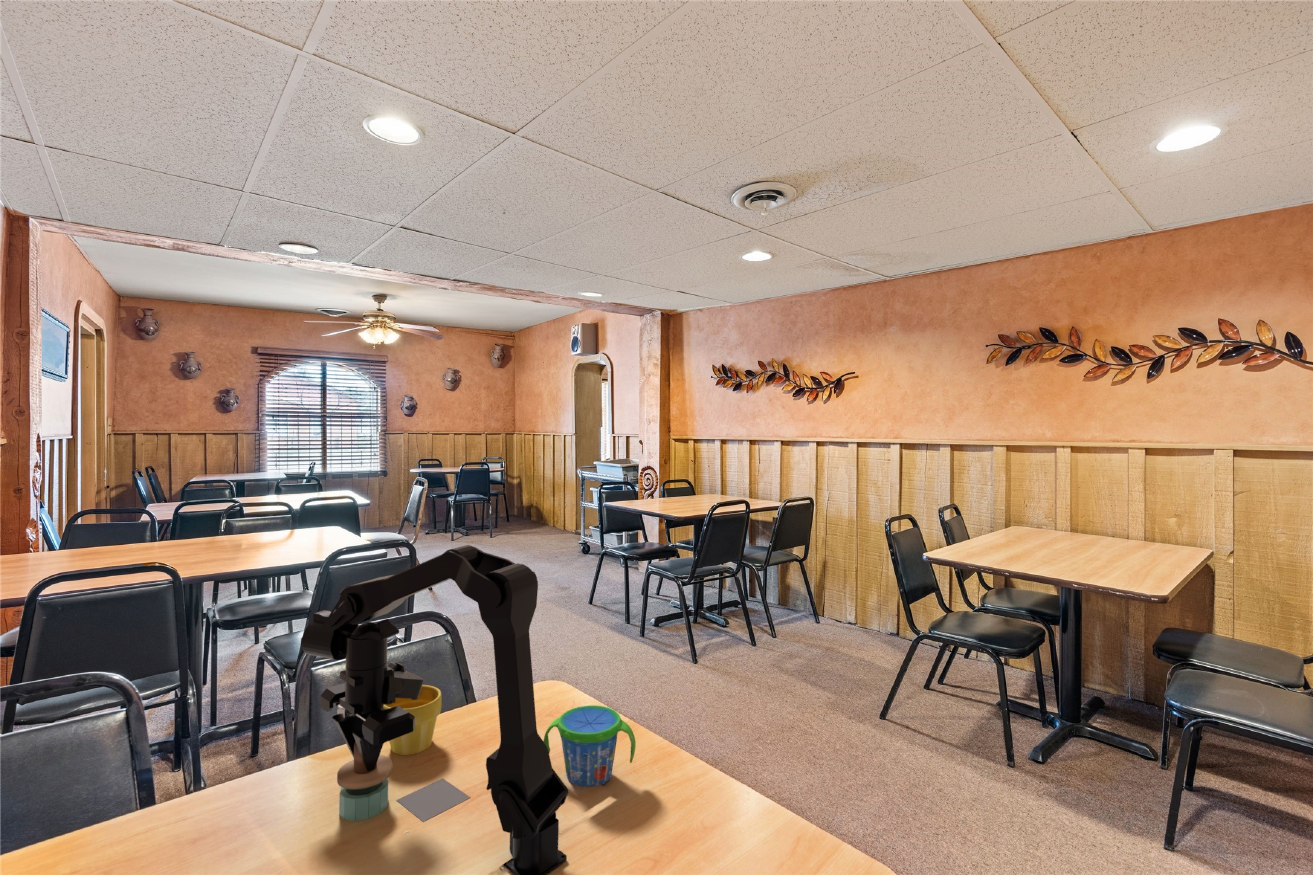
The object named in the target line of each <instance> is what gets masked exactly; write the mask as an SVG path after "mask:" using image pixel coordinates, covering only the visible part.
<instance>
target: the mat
mask: <svg viewBox="0 0 1313 875" xmlns="http://www.w3.org/2000/svg"><path fill="white" fill-rule="evenodd" d="M469 799H471V796H469V795H468V794H466V793H465V792H464V791H462V790H460V789H459V788H458V787H456V786H455V785H454V784H452V783H451V782H449V781H447V780H446V779H445V778H440V779H438V780H437V781H434V782H432V783H429V784H428V785H426V786H423V787H421V788H419V789H417V790H414V791H412V792H411V793H408V794H406V795H404V796H402V797H400V798H397V799H396V801H395V802H398V803H399V804H400V805H401V806H403V808H405V809H406V810H408V812H410V813H411V814H412V815H413V816H415V817H416V818H417V819H419V820H420V821H421V822H422V823H424V822H426V821H428V820H430V819H432V818H434V817H436V816H438V815H440V814H442V813H444V812H446V811H448V810H449V809H451V808H454V807H456V806H458V805H460V804H461V803H463V802H465V801H467V800H469Z"/></svg>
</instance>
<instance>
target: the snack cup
mask: <svg viewBox="0 0 1313 875" xmlns="http://www.w3.org/2000/svg"><path fill="white" fill-rule="evenodd" d="M553 728H556V729H557V731H558V733H559V735H560V740H561V745H562V746H561V747H562V753H563V759H564V761H563V762H564V768H565V774H566V777H567V779H568V781H569V782H570V783H571V784H573V785H574V786H578V787H579V786H580V787H587V788H588V787H596V786H599V785H600V786H603V785H605V784H606V783H607V782H608V781H609V780H611V778H612V774H613V768H614V761H615V753H616V747H617V740H618V734H619V732H623V733H625V734H627V735H628V737H629V741H630V757H629V758H630V759H629V763H630V764H632V763H633V759H634V757H635V753H636V738H635V737H636V736H635V734H634V731H633V730H632V728H631V726H630V725H629V724H628V723H627V722H626V721H625V720H623V719H621V715H620V714H619V713H618V712H617V711H616V710H615V709H613V708H610V707H607V706H604V705H603V706H602V705H582V706H576V707H573V708H571V709H569V710H567V711H565V712H563V713H562V714H561V715H560V716H559V717H557V718H555V719H553V721H552V722H551V723H550V724H549V726H548V728H547V729H546V731H545V733H544V737H543V742H544V743H545V744H546V746H547V748H548V752H549V754H550V752H551V748H550V740H549V734H550V732H551V730H552V729H553Z"/></svg>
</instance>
